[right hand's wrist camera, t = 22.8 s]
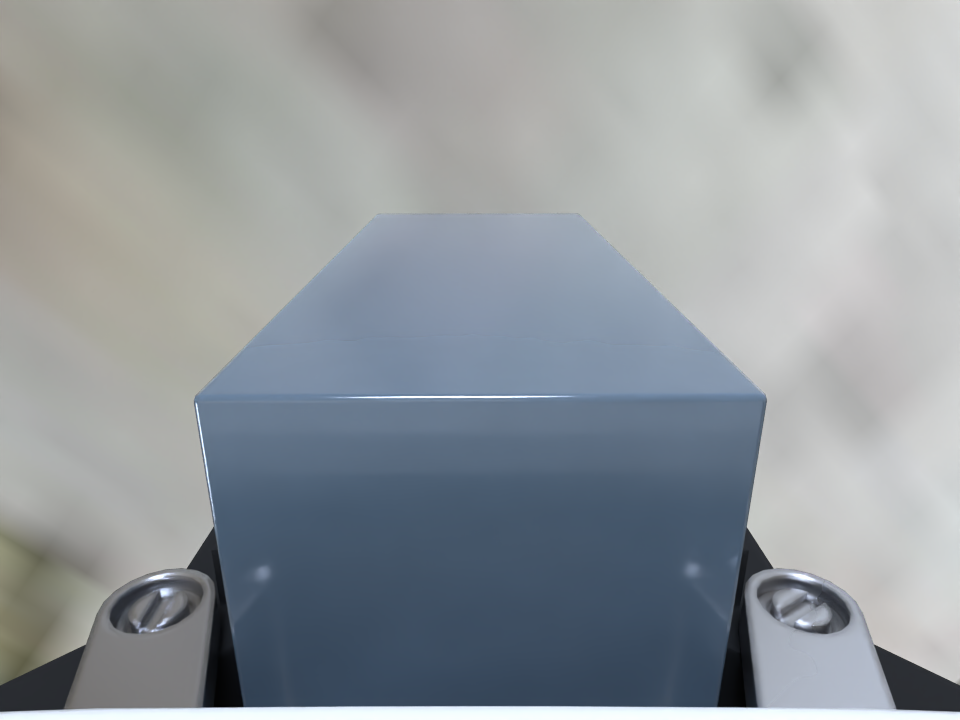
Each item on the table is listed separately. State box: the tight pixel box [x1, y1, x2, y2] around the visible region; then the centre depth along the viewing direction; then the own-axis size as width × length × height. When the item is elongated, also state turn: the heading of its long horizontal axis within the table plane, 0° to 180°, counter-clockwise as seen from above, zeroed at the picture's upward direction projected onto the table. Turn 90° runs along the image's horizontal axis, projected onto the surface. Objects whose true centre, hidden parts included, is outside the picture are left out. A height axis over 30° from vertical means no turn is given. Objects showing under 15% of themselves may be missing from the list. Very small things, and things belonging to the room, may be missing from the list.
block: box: [194, 214, 767, 707], centre depth 12 cm, size 5×8×11 cm, turn 0°
